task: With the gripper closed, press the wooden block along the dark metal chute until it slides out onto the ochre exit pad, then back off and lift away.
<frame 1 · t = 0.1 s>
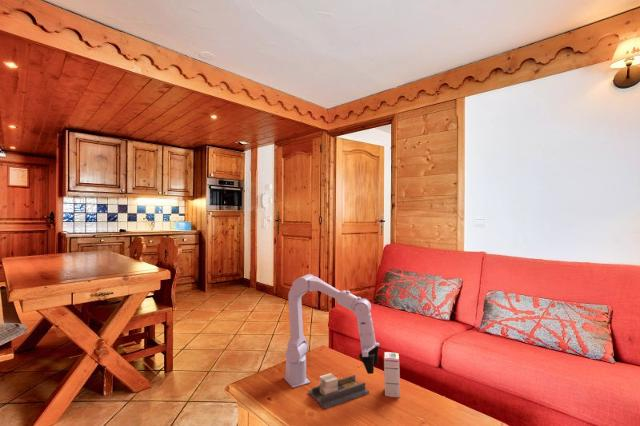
hand: (372, 368, 119), 11 cm above the table, tool pointing down, fingers open, 7 cm apart
block: (328, 385, 119), point 4 cm above the table, slide at 0.0 cm
chute: (338, 393, 121), on the table
syrup box: (392, 393, 121), on the table
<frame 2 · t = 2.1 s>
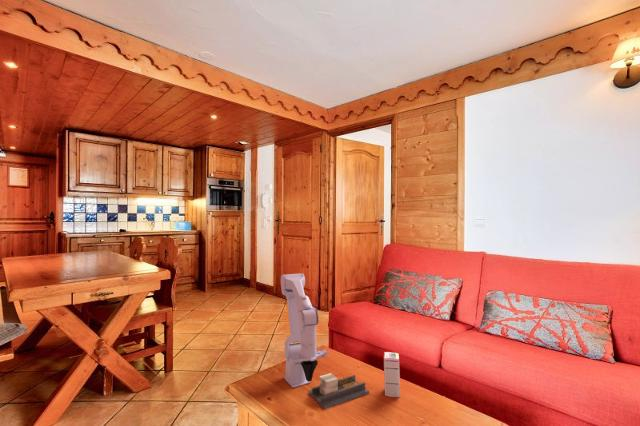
hand: (308, 380, 115), 8 cm above the table, tool pointing down, fingers closed
nothing on the table moved.
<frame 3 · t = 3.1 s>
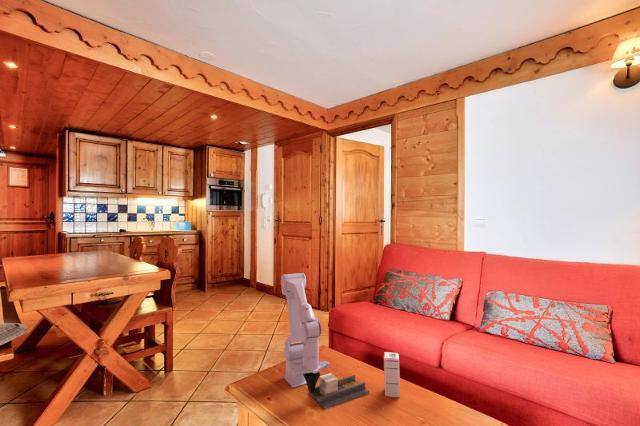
hand: (311, 391, 115), 4 cm above the table, tool pointing down, fingers closed
nothing on the table moved.
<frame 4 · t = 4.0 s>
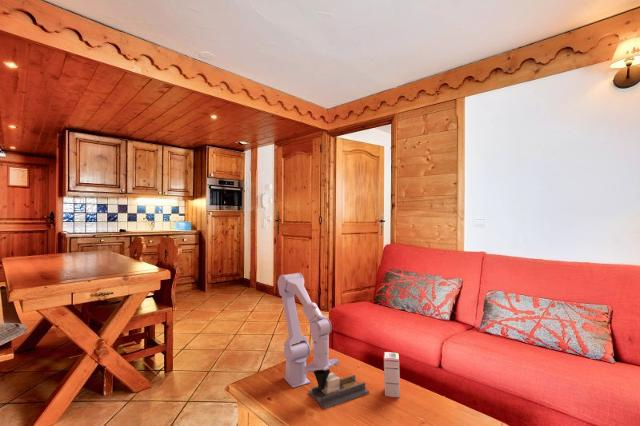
hand: (321, 388, 117), 4 cm above the table, tool pointing down, fingers closed
block: (330, 384, 119), point 4 cm above the table, slide at 0.8 cm, touching gripper
everything else where it was.
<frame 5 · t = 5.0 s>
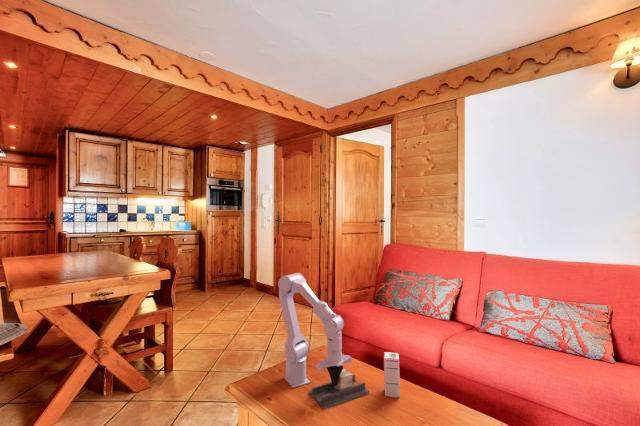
hand: (334, 384, 120), 4 cm above the table, tool pointing down, fingers closed
block: (343, 380, 122), point 4 cm above the table, slide at 6.6 cm, touching gripper
everything else where it was.
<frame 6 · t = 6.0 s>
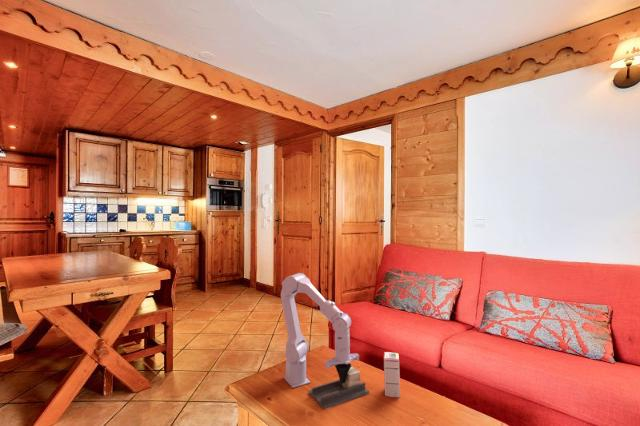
hand: (342, 381, 122), 4 cm above the table, tool pointing down, fingers closed
block: (351, 378, 124), point 4 cm above the table, slide at 10.3 cm, touching gripper
everything else where it was.
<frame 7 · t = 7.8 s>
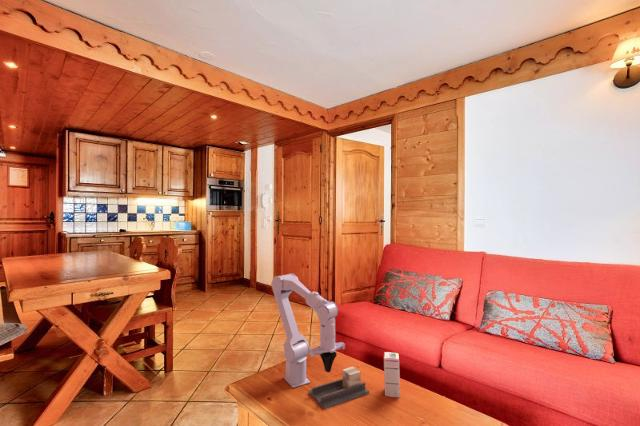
hand: (327, 371, 120), 9 cm above the table, tool pointing down, fingers closed
block: (351, 378, 124), point 4 cm above the table, slide at 10.5 cm
everything else where it was.
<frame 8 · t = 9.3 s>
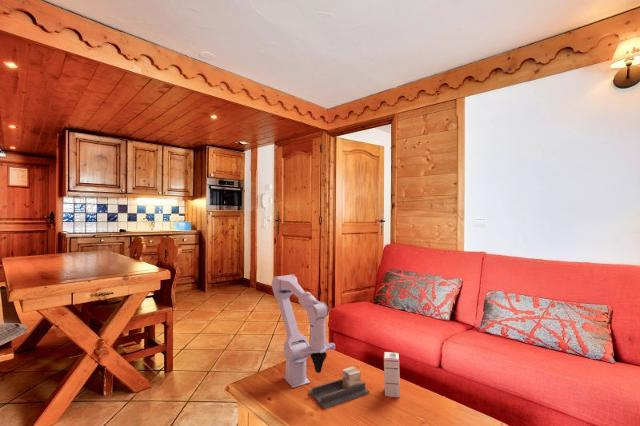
hand: (318, 371, 119), 9 cm above the table, tool pointing down, fingers closed
nothing on the table moved.
at the end: block slide at 10.5 cm; syrup box moved 0.2 cm from its start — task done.
